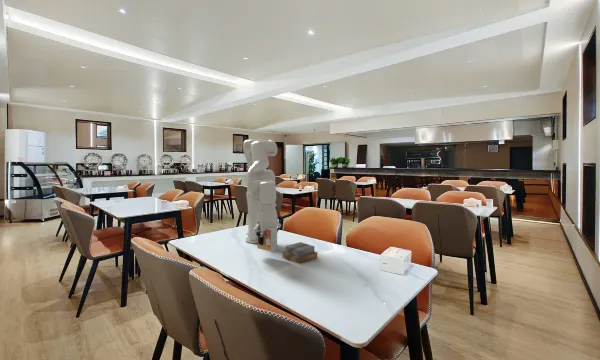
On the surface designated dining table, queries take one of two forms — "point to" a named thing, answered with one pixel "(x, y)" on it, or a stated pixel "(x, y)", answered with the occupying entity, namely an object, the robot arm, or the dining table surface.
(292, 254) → the tower base
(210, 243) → the dining table surface
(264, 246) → the small box
